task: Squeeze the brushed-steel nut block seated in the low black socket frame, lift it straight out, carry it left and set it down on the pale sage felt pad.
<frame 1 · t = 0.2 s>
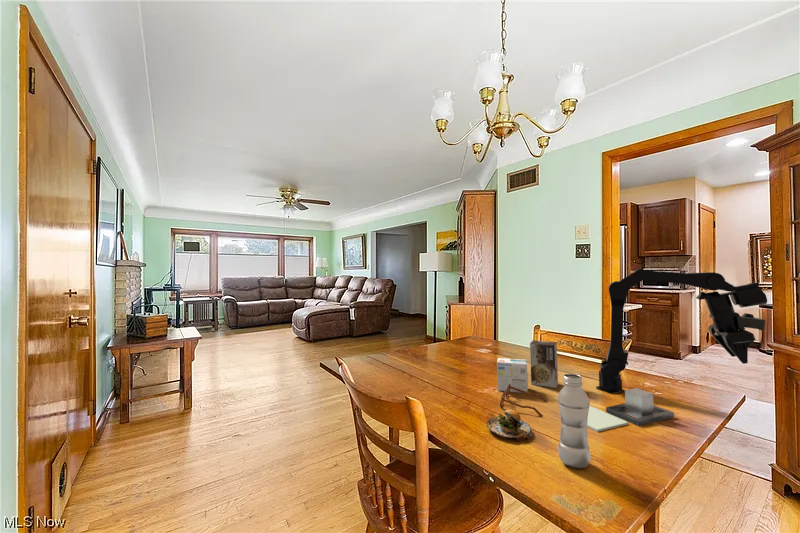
hand: (739, 359, 103), 15 cm above the table, tool pointing down, fingers open, 9 cm apart
nut block: (639, 415, 100), resting in socket frame
coffee box: (544, 384, 128), on the table
socket frame: (639, 414, 100), on the table
light bulb box: (512, 389, 123), on the table
plastic bottle: (574, 464, 75), on the table
burger: (508, 433, 91), on the table
felt pad: (593, 419, 98), on the table
glasses: (524, 406, 108), on the table
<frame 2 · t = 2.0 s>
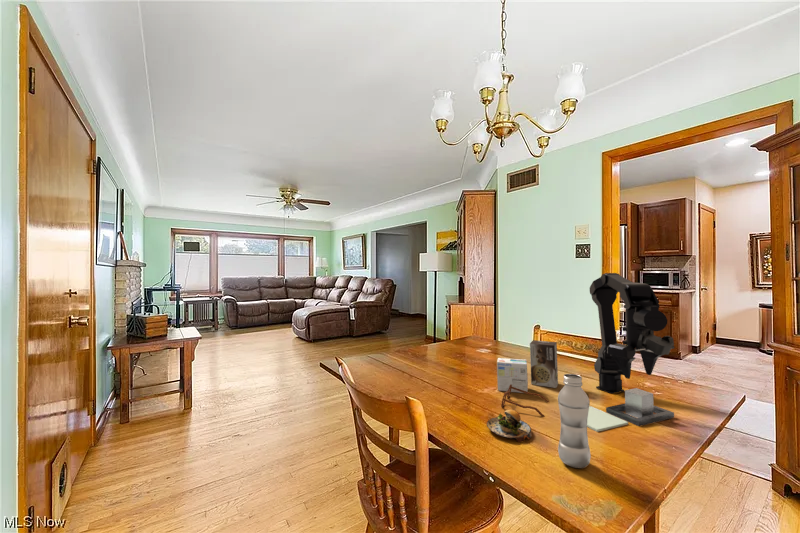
hand: (638, 376, 100), 12 cm above the table, tool pointing down, fingers open, 9 cm apart
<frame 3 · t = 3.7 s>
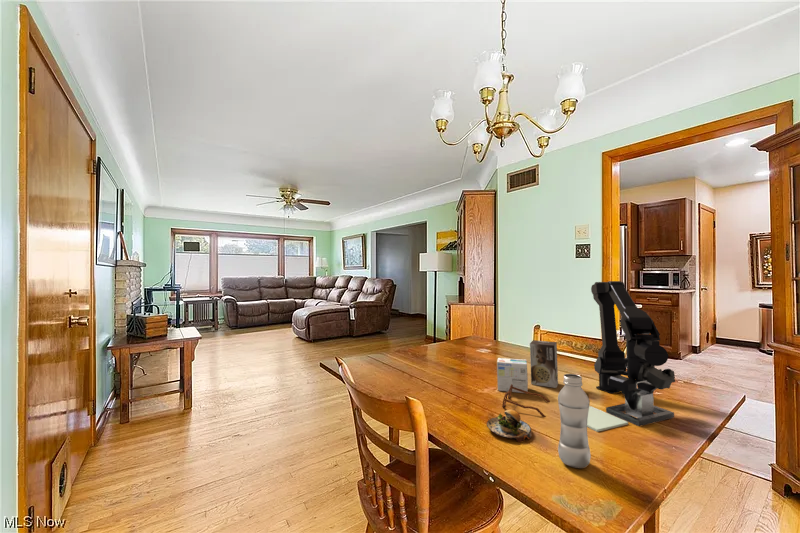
hand: (639, 408, 100), 2 cm above the table, tool pointing down, fingers closed on nut block, 5 cm apart
nut block: (639, 414, 100), resting in socket frame, touching gripper
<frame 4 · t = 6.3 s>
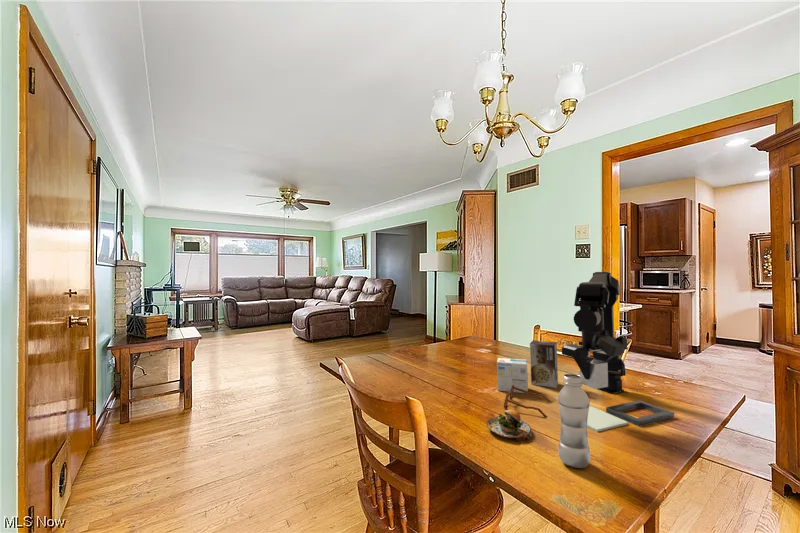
hand: (593, 378, 98), 12 cm above the table, tool pointing down, fingers closed on nut block, 5 cm apart
nut block: (594, 385, 97), point 10 cm above the table, touching gripper
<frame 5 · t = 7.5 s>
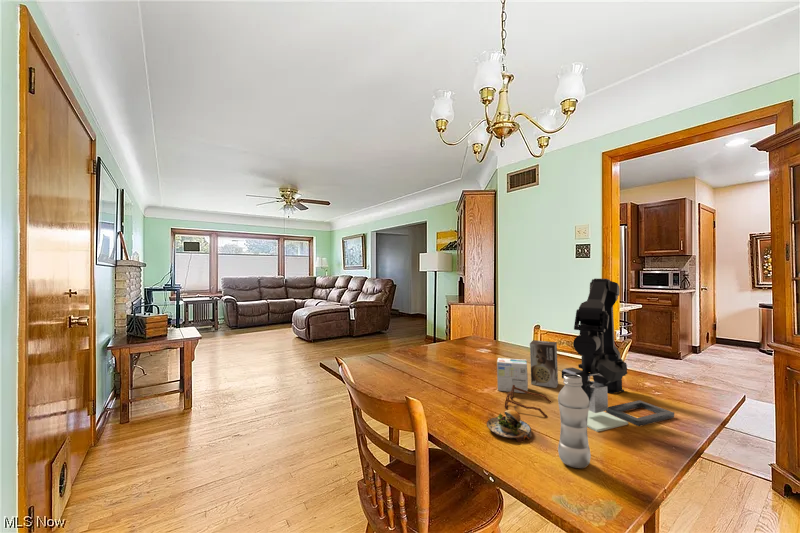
hand: (593, 401, 98), 5 cm above the table, tool pointing down, fingers closed on nut block, 5 cm apart
nut block: (593, 408, 98), point 3 cm above the table, touching gripper
when the fingers open (3 cm above the table, at t = 8.7 s): nut block stays where it is, resting on felt pad.
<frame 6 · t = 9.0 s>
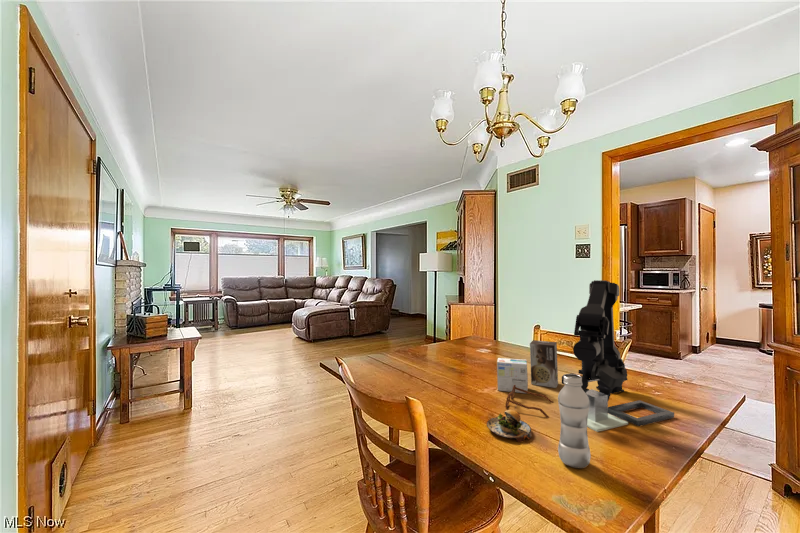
hand: (593, 407, 98), 3 cm above the table, tool pointing down, fingers open, 9 cm apart
nut block: (594, 417, 97), point 1 cm above the table, touching felt pad
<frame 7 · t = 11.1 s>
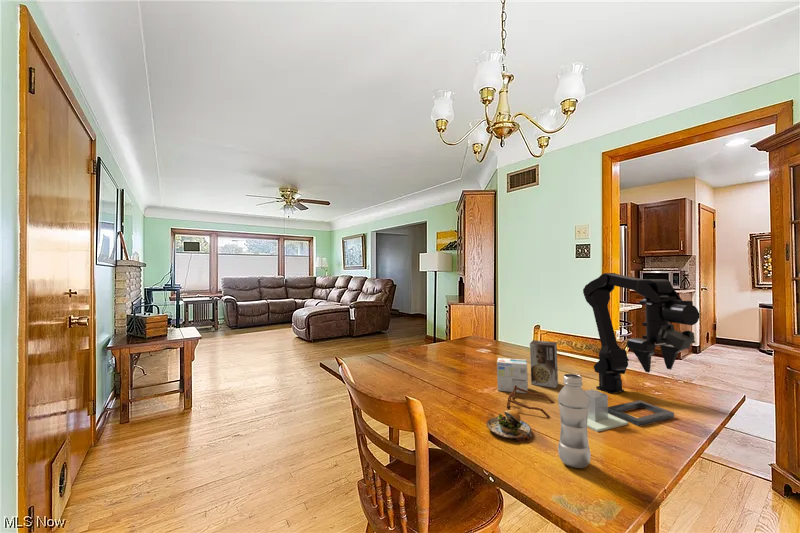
hand: (658, 370, 101), 13 cm above the table, tool pointing down, fingers open, 9 cm apart
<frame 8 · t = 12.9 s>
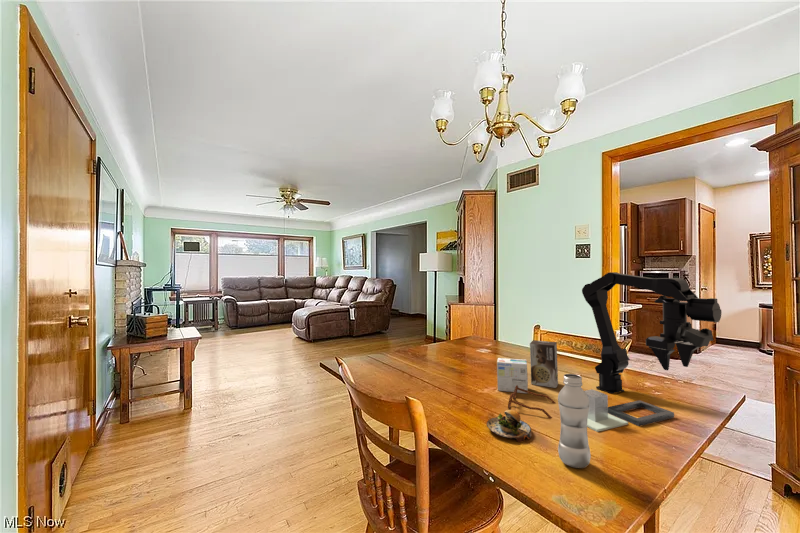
hand: (675, 368, 103), 13 cm above the table, tool pointing down, fingers open, 9 cm apart
at the end: nut block inside the target area on the felt pad (0.1 cm from its centre), point 0.6 cm above the felt pad's base; nut block tilted 0°; the gripper is holding nothing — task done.
